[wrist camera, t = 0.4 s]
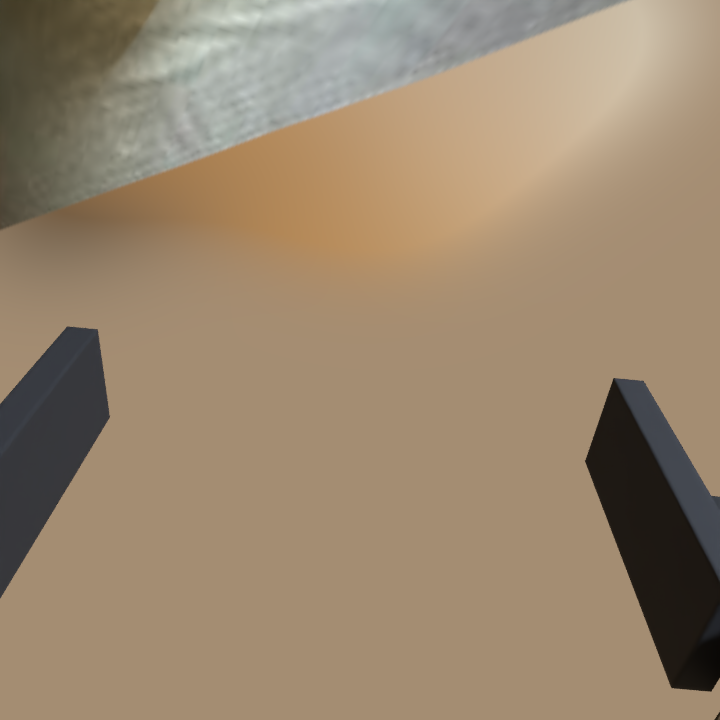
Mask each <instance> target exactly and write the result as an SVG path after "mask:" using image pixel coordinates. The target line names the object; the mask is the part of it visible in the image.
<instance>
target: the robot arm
mask: <svg viewBox="0 0 720 720" xmlns="http://www.w3.org/2000/svg"><path fill="white" fill-rule="evenodd" d="M109 417H110V416H109V408H108V401H107V394H106V386H105V379H104V372H103V365H102V358H101V350H100V343H99V336H98V330H97V329H87V328H76V327H66V329H65V330H64V331H63V332H62V333H61V334H60V336H59V337H58V338H57V339H56V340H55V341H54V342H53V344H52V345H51V346H50V347H49V348H48V349H47V351H46V352H45V353H44V354H43V355H42V356H41V358H40V359H39V360H38V361H37V362H36V363H35V364H34V366H33V367H32V368H31V369H30V370H29V371H28V373H27V374H26V375H25V376H24V377H23V378H22V380H21V381H20V382H19V383H18V384H17V385H16V386H15V388H14V389H13V390H12V391H11V392H10V393H9V395H8V396H7V397H6V398H5V399H4V401H3V402H2V403H1V404H0V598H1V596H2V595H3V593H4V591H5V590H6V588H7V586H8V585H9V583H10V581H11V580H12V578H13V576H14V575H15V573H16V571H17V570H18V568H19V567H20V565H21V563H22V562H23V560H24V558H25V556H26V555H27V553H28V552H29V550H30V548H31V547H32V545H33V543H34V542H35V540H36V538H37V537H38V535H39V533H40V532H41V530H42V529H43V527H44V525H45V524H46V522H47V520H48V519H49V517H50V515H51V514H52V512H53V510H54V509H55V507H56V505H57V504H58V502H59V500H60V499H61V497H62V495H63V494H64V492H65V490H66V489H67V487H68V486H69V484H70V482H71V481H72V479H73V477H74V476H75V474H76V472H77V471H78V469H79V467H80V466H81V464H82V462H83V461H84V458H85V457H86V456H87V454H88V452H89V451H90V449H91V447H92V446H93V444H94V442H95V441H96V439H97V437H98V436H99V434H100V433H101V431H102V429H103V428H104V426H105V424H106V423H107V421H108V419H109ZM585 462H586V465H587V468H588V470H589V473H590V475H591V478H592V481H593V483H594V486H595V489H596V491H597V494H598V496H599V499H600V502H601V504H602V507H603V510H604V512H605V515H606V517H607V520H608V523H609V525H610V528H611V531H612V533H613V536H614V538H615V541H616V543H617V546H618V548H619V551H620V554H621V557H622V559H623V562H624V565H625V567H626V570H627V572H628V575H629V578H630V580H631V583H632V585H633V588H634V591H635V593H636V596H637V599H638V601H639V604H640V607H641V609H642V612H643V614H644V617H645V620H646V622H647V625H648V628H649V630H650V633H651V635H652V638H653V641H654V643H655V646H656V649H657V651H658V654H659V656H660V659H661V662H662V664H663V667H664V670H665V672H666V675H667V677H668V680H669V683H670V685H671V687H672V688H677V689H689V690H699V691H712V689H713V688H714V686H715V685H716V683H717V681H718V680H719V678H720V497H715V496H711V495H710V493H709V491H708V490H707V488H706V486H705V485H704V483H703V481H702V480H701V478H700V476H699V475H698V473H697V471H696V469H695V468H694V466H693V465H692V463H691V461H690V459H689V458H688V456H687V454H686V453H685V451H684V449H683V447H682V446H681V444H680V442H679V440H678V439H677V437H676V435H675V434H674V432H673V430H672V429H671V427H670V425H669V424H668V422H667V420H666V418H665V417H664V415H663V413H662V412H661V410H660V408H659V406H658V405H657V403H656V401H655V400H654V398H653V396H652V395H651V393H650V391H649V390H648V388H647V386H646V384H645V383H644V381H638V380H628V379H616V378H614V379H613V382H612V385H611V388H610V390H609V393H608V396H607V399H606V402H605V405H604V408H603V411H602V414H601V417H600V420H599V423H598V425H597V428H596V431H595V434H594V437H593V440H592V443H591V446H590V449H589V452H588V455H587V458H586V460H585ZM715 720H720V712H719V714H718V715H717V717H716V718H715Z"/></svg>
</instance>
